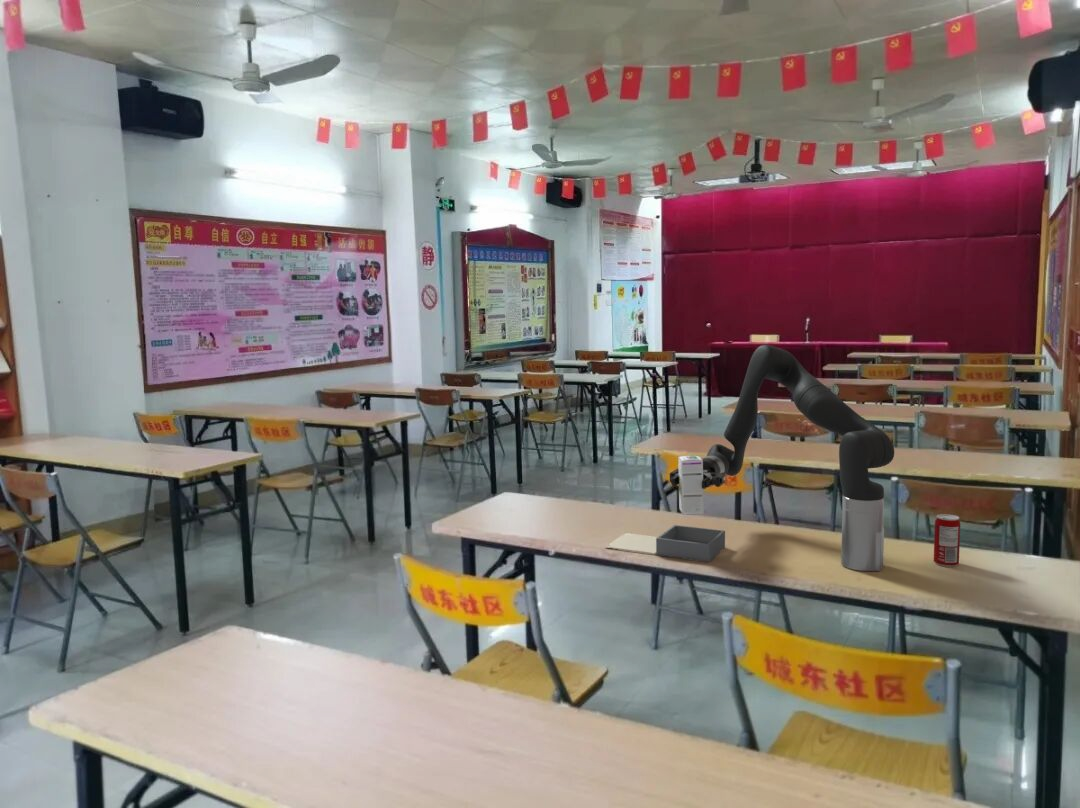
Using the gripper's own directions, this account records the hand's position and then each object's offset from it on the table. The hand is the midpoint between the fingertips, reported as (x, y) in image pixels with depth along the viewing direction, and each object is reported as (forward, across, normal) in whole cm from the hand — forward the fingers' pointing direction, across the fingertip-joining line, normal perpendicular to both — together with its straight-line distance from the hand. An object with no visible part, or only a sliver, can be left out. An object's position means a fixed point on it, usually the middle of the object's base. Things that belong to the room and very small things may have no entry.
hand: (688, 483), depth 203 cm
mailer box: (-2, -7, +19) cm, 20 cm away
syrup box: (-2, 0, +8) cm, 8 cm away
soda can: (-18, +59, +19) cm, 65 cm away
